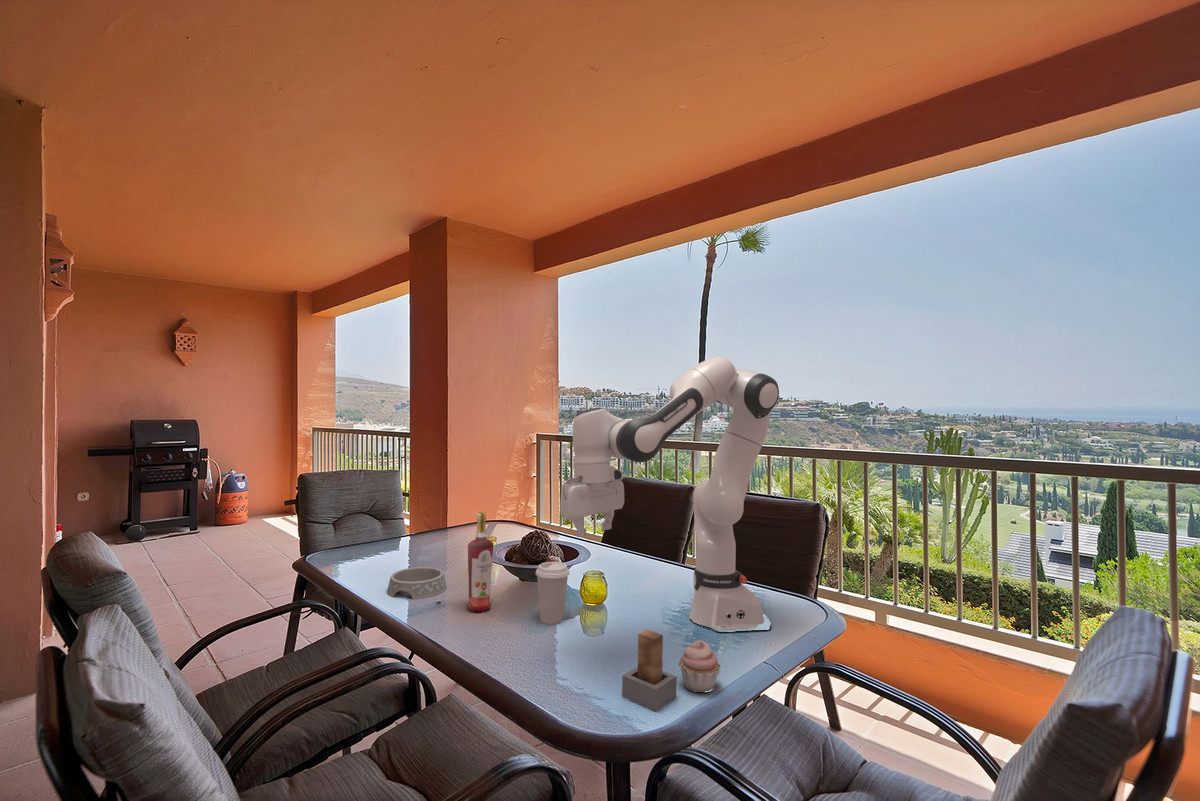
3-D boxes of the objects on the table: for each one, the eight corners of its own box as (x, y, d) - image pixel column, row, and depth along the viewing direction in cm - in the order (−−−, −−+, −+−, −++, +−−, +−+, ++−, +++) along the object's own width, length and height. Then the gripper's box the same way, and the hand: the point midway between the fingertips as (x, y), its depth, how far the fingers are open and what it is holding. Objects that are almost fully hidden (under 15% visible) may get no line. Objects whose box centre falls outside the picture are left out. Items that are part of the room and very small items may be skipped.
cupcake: (676, 695, 112) (677, 647, 112) (677, 674, 121) (678, 629, 122) (722, 700, 111) (723, 651, 111) (720, 678, 120) (720, 632, 120)
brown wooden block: (637, 692, 112) (638, 633, 112) (645, 686, 114) (646, 629, 114) (653, 699, 109) (654, 639, 109) (661, 693, 111) (662, 634, 112)
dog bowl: (430, 602, 164) (430, 584, 164) (375, 597, 167) (375, 579, 167) (455, 584, 181) (455, 568, 181) (404, 580, 184) (405, 564, 184)
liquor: (472, 615, 153) (474, 516, 153) (462, 607, 159) (464, 512, 159) (496, 610, 157) (498, 513, 158) (485, 603, 163) (487, 509, 164)
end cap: (621, 696, 111) (622, 675, 111) (643, 683, 117) (643, 663, 117) (655, 711, 106) (656, 689, 106) (676, 697, 112) (676, 676, 112)
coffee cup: (551, 610, 158) (552, 559, 158) (575, 619, 152) (576, 565, 152) (527, 620, 151) (528, 565, 151) (551, 629, 145) (553, 573, 145)
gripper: (572, 479, 121) (575, 542, 120) (627, 471, 137) (630, 526, 136) (552, 478, 125) (555, 539, 124) (608, 471, 141) (610, 524, 140)
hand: (594, 532), depth 130 cm, fingers open, 8 cm apart
